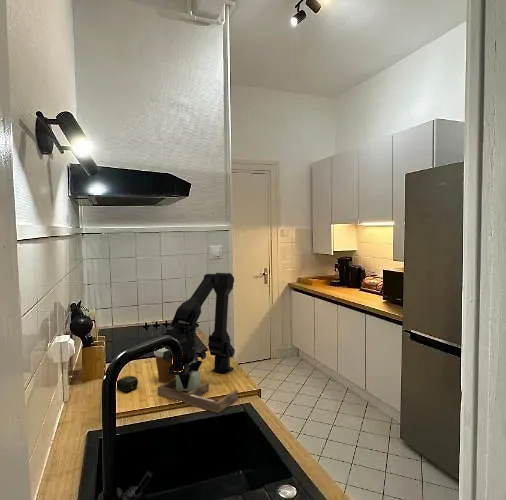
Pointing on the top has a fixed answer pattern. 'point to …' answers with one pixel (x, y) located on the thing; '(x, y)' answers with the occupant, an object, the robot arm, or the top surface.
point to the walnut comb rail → (197, 396)
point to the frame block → (193, 382)
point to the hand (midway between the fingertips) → (188, 385)
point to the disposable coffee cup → (163, 366)
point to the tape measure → (127, 383)
